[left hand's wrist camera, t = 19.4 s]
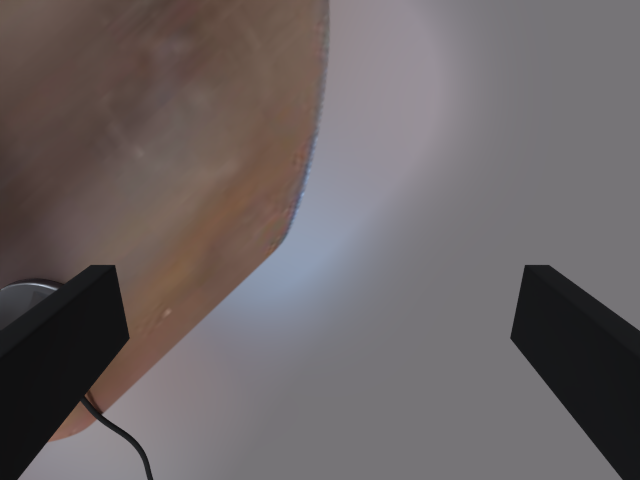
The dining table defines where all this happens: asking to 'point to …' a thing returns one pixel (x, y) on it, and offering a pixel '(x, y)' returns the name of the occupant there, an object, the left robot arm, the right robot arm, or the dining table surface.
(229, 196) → the dining table surface
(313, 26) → the dining table surface
